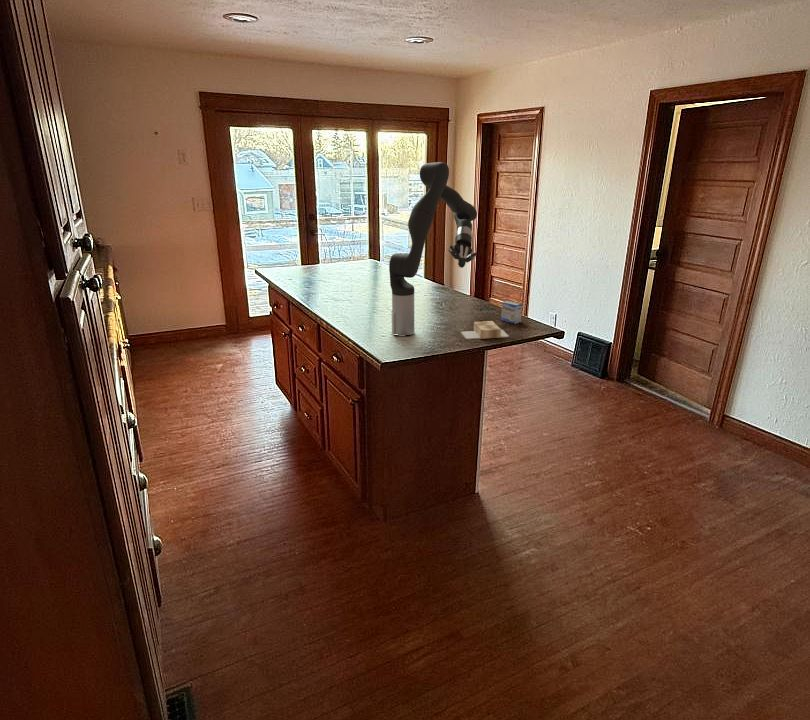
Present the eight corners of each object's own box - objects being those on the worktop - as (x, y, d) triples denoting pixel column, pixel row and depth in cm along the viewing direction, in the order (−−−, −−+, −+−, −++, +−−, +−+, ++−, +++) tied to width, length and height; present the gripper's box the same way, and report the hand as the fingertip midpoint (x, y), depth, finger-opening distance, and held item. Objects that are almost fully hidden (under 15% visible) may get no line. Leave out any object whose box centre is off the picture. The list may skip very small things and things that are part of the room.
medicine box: (500, 320, 234) (501, 302, 231) (506, 318, 237) (507, 300, 234) (515, 324, 229) (516, 305, 226) (521, 322, 232) (522, 303, 228)
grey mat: (466, 339, 210) (466, 338, 210) (460, 332, 218) (460, 331, 218) (508, 337, 212) (509, 336, 212) (502, 330, 221) (502, 329, 220)
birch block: (473, 329, 221) (481, 338, 209) (473, 321, 219) (481, 330, 208) (491, 328, 222) (500, 337, 211) (492, 320, 220) (501, 329, 209)
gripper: (452, 228, 227) (450, 255, 217) (480, 237, 229) (479, 264, 219) (446, 240, 233) (444, 267, 223) (474, 249, 235) (472, 276, 225)
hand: (461, 266), depth 221 cm, fingers closed
